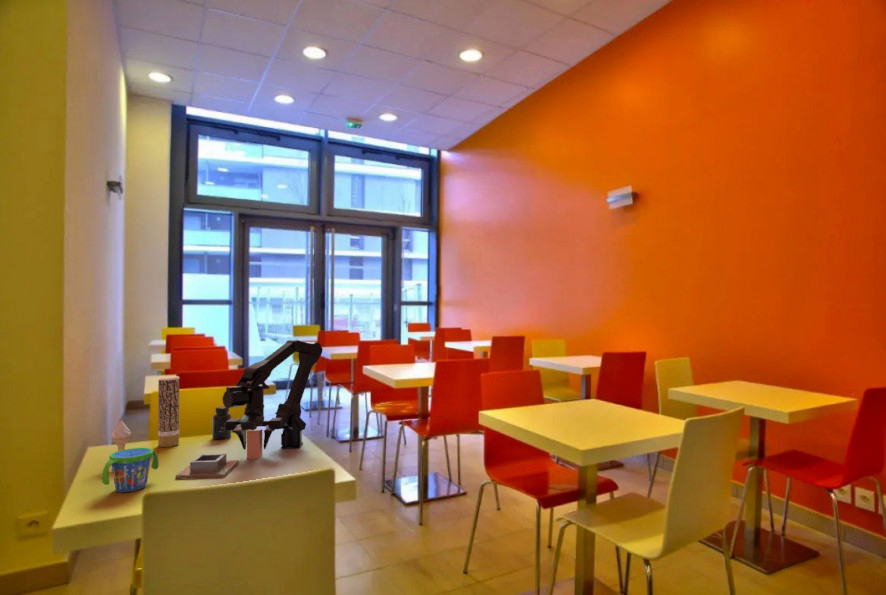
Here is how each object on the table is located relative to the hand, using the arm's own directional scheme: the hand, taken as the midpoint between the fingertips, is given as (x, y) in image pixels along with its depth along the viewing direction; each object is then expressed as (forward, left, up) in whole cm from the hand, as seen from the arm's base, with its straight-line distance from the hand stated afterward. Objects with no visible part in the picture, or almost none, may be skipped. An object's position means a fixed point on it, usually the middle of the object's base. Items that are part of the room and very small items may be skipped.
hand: (254, 449), depth 174 cm
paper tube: (+36, -17, -3) cm, 40 cm away
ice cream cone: (+40, +7, -3) cm, 41 cm away
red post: (0, 0, -2) cm, 2 cm away
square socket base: (+10, +14, -2) cm, 17 cm away
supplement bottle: (+20, -26, -3) cm, 33 cm away
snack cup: (+26, +28, -3) cm, 38 cm away
